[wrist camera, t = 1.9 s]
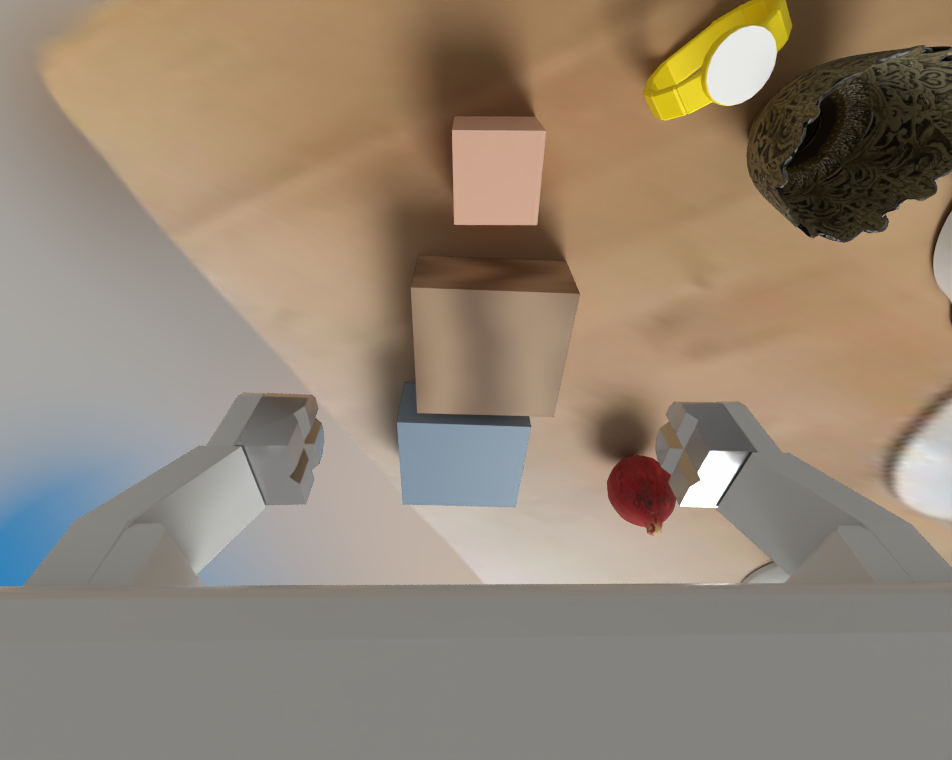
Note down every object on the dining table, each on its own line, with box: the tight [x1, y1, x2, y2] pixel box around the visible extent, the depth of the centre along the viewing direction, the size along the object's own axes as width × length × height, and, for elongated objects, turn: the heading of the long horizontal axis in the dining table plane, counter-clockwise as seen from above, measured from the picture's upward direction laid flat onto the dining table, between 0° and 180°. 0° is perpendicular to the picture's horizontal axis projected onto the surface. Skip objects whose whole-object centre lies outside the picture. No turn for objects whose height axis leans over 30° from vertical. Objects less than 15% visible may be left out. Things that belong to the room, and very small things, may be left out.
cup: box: [747, 45, 952, 243], centre depth 22 cm, size 8×7×8 cm
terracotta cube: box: [452, 116, 546, 225], centre depth 24 cm, size 4×4×4 cm
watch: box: [643, 0, 792, 120], centre depth 20 cm, size 6×3×6 cm, turn 129°
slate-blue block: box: [397, 383, 531, 507], centre depth 38 cm, size 10×10×5 cm
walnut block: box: [411, 255, 580, 417], centre depth 31 cm, size 10×10×5 cm
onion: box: [607, 455, 676, 536], centre depth 39 cm, size 6×6×8 cm
